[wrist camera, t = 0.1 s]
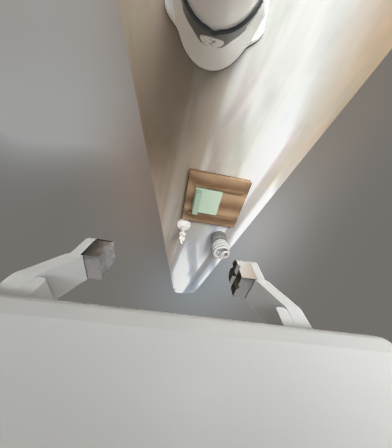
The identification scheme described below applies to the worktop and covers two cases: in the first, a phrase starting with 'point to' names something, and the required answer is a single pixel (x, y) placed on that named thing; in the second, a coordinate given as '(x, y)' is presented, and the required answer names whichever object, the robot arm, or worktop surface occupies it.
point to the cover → (206, 201)
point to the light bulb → (220, 245)
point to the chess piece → (183, 228)
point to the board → (230, 200)
